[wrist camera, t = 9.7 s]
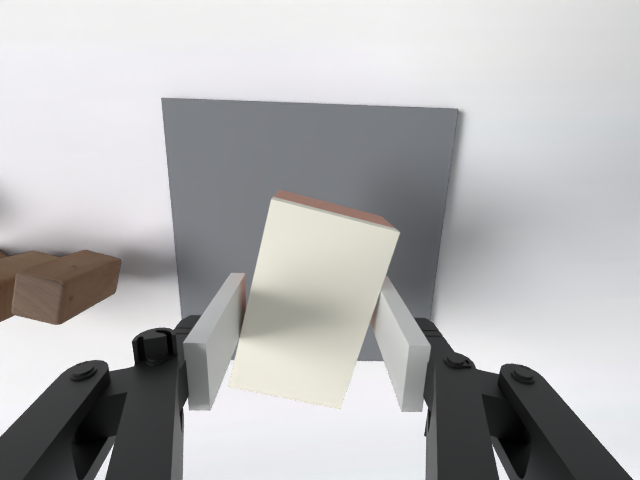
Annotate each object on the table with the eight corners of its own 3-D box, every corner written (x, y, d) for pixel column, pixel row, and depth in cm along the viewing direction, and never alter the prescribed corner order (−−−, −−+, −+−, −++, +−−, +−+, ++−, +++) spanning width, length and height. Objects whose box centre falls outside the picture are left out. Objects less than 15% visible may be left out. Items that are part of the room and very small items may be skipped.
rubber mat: (166, 99, 24) (161, 97, 23) (453, 110, 25) (458, 108, 24) (188, 353, 30) (185, 359, 29) (421, 356, 31) (424, 361, 30)
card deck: (244, 342, 20) (228, 387, 16) (280, 189, 18) (271, 198, 14) (335, 362, 21) (340, 409, 17) (381, 216, 18) (400, 232, 15)
